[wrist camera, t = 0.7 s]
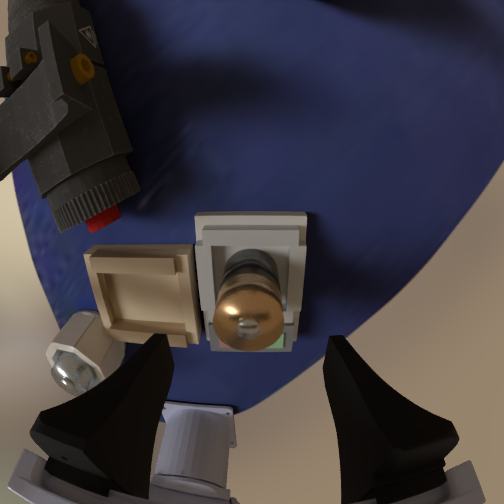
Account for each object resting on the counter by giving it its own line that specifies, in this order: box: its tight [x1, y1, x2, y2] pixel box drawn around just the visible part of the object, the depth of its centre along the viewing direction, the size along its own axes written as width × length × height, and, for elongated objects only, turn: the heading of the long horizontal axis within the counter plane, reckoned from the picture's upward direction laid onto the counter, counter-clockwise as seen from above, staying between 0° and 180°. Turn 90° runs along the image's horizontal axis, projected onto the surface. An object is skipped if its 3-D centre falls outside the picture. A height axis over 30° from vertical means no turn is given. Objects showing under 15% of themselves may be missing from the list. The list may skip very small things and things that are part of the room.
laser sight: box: [0, 0, 141, 233], centre depth 10 cm, size 10×22×10 cm, turn 19°
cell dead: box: [51, 351, 97, 397], centre depth 20 cm, size 4×4×6 cm
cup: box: [46, 309, 126, 389], centre depth 21 cm, size 6×6×5 cm
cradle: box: [195, 211, 307, 352], centre depth 19 cm, size 10×7×2 cm
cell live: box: [213, 249, 284, 351], centre depth 17 cm, size 4×4×6 cm
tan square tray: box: [84, 244, 202, 348], centre depth 20 cm, size 7×8×2 cm
